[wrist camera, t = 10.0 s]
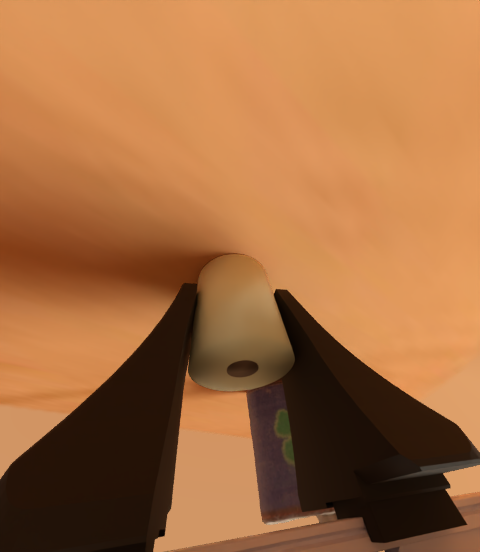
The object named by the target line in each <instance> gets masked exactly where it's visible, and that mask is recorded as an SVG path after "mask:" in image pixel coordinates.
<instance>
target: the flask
mask: <svg viewBox="0 0 480 552" xmlns="http://www.w3.org/2000/svg"><path fill="white" fill-rule="evenodd" d="M246 395H247V402H248V409H249V417H250V427H251V435H252V440H253V448H254V456H255V466H256V474H257V483H258V491H259V499H260V509H261V516H262V521H263V522H264V523H265V524H268V525H270V524H278V523H284V522H289V521H291V520H295V519H299V518H306V517H310V516H315V515H316V516H317V518H318V520H319V523H323V522H328V521H334V520H338V519H337V516H336V513H335V509H334V507H333V508H327V509H320V510H314V511H307V512H302V510H301V506H300V501H299V497H298V490H297V479H296V470H295V462H294V453H293V445H292V438H291V431H290V424H289V418H288V412H287V406H286V400H285V395H284V389H283V384H282V380H281V378H280V379H278V380H277V381H275V382H273V383H270V384H268V385H265V386H262V387H259V388H255V389H250V390H247V394H246Z"/></svg>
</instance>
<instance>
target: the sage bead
mask: <svg viewBox="0 0 480 552" xmlns="http://www.w3.org/2000/svg"><path fill="white" fill-rule="evenodd" d="M294 362H295V356H294V352H293V350H292V347H291V344H290V341H289V338H288V335H287V332H286V329H285V326H284V323H283V321H282V318H281V315H280V312H279V309H278V306H277V303H276V300H275V297H274V294H273V292H272V289H271V286H270V283H269V280H268V277H267V274H266V272H265V269H264V268H263V266H262V265H261V264H260V263H259V262H258V261H257V260H255V259H254V258H251V257H249V256H246V255H242V254H227V255H223V256H219V257H217V258H215V259H213V260H211V261H210V262H209V263H207V264H206V265H205V266H204V268H203V269H202V270H201V272H200V274H199V278H198V286H197V298H196V307H195V314H194V321H193V330H192V339H191V348H190V357H189V365H188V373H189V376H190V377H191V379H192V380H193V381H194V382H196V383H197V384H199V385H201V386H203V387H206V388H209V389H213V390H219V391H243V390H250V389H255V388H259V387H262V386H265V385H268V384H270V383H273V382H275V381H277V380H278V379H280V378H282V377H283V376H284V375H286V374H287V373H288V372H289V371H290V370H291V368H292V367H293V365H294Z"/></svg>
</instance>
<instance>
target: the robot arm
mask: <svg viewBox="0 0 480 552" xmlns="http://www.w3.org/2000/svg"><path fill="white" fill-rule="evenodd" d="M274 297H275V300H276V303H277V306H278V309H279V312H280V315H281V318H282V321H283V323H284V326H285V329H286V332H287V335H288V338H289V341H290V344H291V347H292V350H293V352H294V356H295V362H294V365H293V367H292V368H291V370H290V371H289V372H288V373H287V374H286V375H284V376H283V377H282V378H281V380H282V384H283V389H284V395H285V400H286V406H287V412H288V418H289V424H290V431H291V438H292V445H293V453H294V462H295V470H296V479H297V490H298V497H299V501H300V506H301V510H302V512H307V511H314V510H320V509H327V508H333V507H334V509H335V513H336V516H337V519H338V520H334V521H328V522H323V523H318V524H312V525H307V526H301V527H296V528H291V529H285V530H280V531H274V532H269V533H263V534H258V535H253V536H247V537H242V538H237V539H231V540H226V541H220V542H215V543H210V544H204V545H198V546H193V547H188V548H182V549H177V550H172V551H167V552H378V551H383V550H385V552H480V492H477V493H469V494H463V495H457V496H452V497H450V496H449V495H448V493H447V491H446V490H445V489H447V488H450V484H449V482H448V481H447V479H446V478H445V476H444V475H443V473H445V472H450V471H455V470H459V469H464V468H468V467H472V466H476V465H480V452H479V451H478V450H477V449H476V448H475V446H474V445H473V444H472V442H471V441H470V440H469V439H468V437H467V436H466V435H465V434H464V432H463V431H462V430H461V429H460V428H459V426H458V425H456V424H455V423H454V422H452V421H450V420H448V419H447V418H445V417H444V416H442V415H440V414H439V413H437V412H435V411H433V410H432V409H430V408H429V407H427V406H425V405H424V404H422V403H421V402H419V401H417V400H416V399H414V398H413V397H411V396H410V395H408V394H407V393H405V392H404V391H402V390H401V389H399V388H398V387H396V386H395V385H393V384H392V383H390V382H389V381H387V380H386V379H384V378H383V377H382V376H380V375H379V374H378V373H376V372H375V371H374V370H372V369H371V368H370V367H368V366H367V365H365V364H364V363H363V362H362V361H360V360H359V359H358V358H357V357H355V356H354V355H353V354H352V353H351V352H349V351H348V350H347V349H346V348H345V347H343V346H342V345H341V344H340V343H339V342H338V341H336V340H335V339H334V338H333V337H332V336H331V335H330V334H329V333H328V332H327V331H326V330H325V329H324V328H323V327H322V326H321V325H320V324H319V323H318V322H317V321H316V320H315V319H314V318H313V317H312V316H311V315H310V314H309V313H308V312H307V311H306V310H305V309H304V308H303V307H302V305H301V304H300V303H299V302H298V301H297V300H296V299H295V298H294V297H293V296H292V295H291V294H290V293H289V292H288V291H287V290H281V289H276V290H275V293H274ZM196 298H197V284H190V283H184V284H183V285H182V286H181V289H180V291H179V293H178V294H177V296H176V298H175V300H174V301H173V303H172V304H171V306H170V307H169V309H168V310H167V312H166V313H165V315H164V316H163V318H162V319H161V320H160V322H159V323H158V324H157V325H156V327H155V328H154V329H153V331H152V332H151V333H150V334H149V336H148V337H147V338H146V339H145V340H144V342H143V343H142V344H141V345H140V346H139V347H138V348H137V350H136V351H135V352H134V353H133V354H132V355H131V356H130V357H129V358H128V359H127V360H126V361H125V362H124V363H123V364H122V366H121V367H120V368H119V369H118V370H117V371H116V372H115V373H114V374H113V375H112V376H111V377H110V378H109V379H108V380H107V381H106V382H105V383H103V384H102V385H101V386H100V387H99V388H98V389H97V390H96V391H95V392H94V393H93V394H92V395H90V396H89V397H88V398H87V399H86V400H85V401H84V402H83V403H82V404H81V405H80V406H78V407H77V408H76V409H75V410H74V411H73V412H72V413H71V414H70V415H68V416H67V417H66V418H65V419H64V420H63V421H61V422H60V423H59V424H58V425H57V426H55V427H54V428H53V429H52V430H51V431H50V432H48V433H47V434H46V435H45V436H44V437H42V439H40V440H39V441H38V442H36V443H35V444H34V445H33V446H32V447H30V448H29V449H28V450H27V451H26V452H25V453H23V454H22V455H21V456H20V457H19V458H17V459H16V460H15V461H14V462H13V463H12V464H11V465H10V466H9V468H8V469H7V471H6V472H5V473H4V475H3V476H2V478H1V479H0V552H153V548H154V541H155V539H157V538H158V537H162V536H164V535H165V528H166V520H167V514H168V512H169V511H170V509H171V504H172V494H173V484H174V474H175V463H176V454H177V445H178V435H179V426H180V417H181V408H182V399H183V390H184V382H185V376H186V371H187V366H188V360H189V355H190V348H191V339H192V330H193V321H194V314H195V307H196Z"/></svg>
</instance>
